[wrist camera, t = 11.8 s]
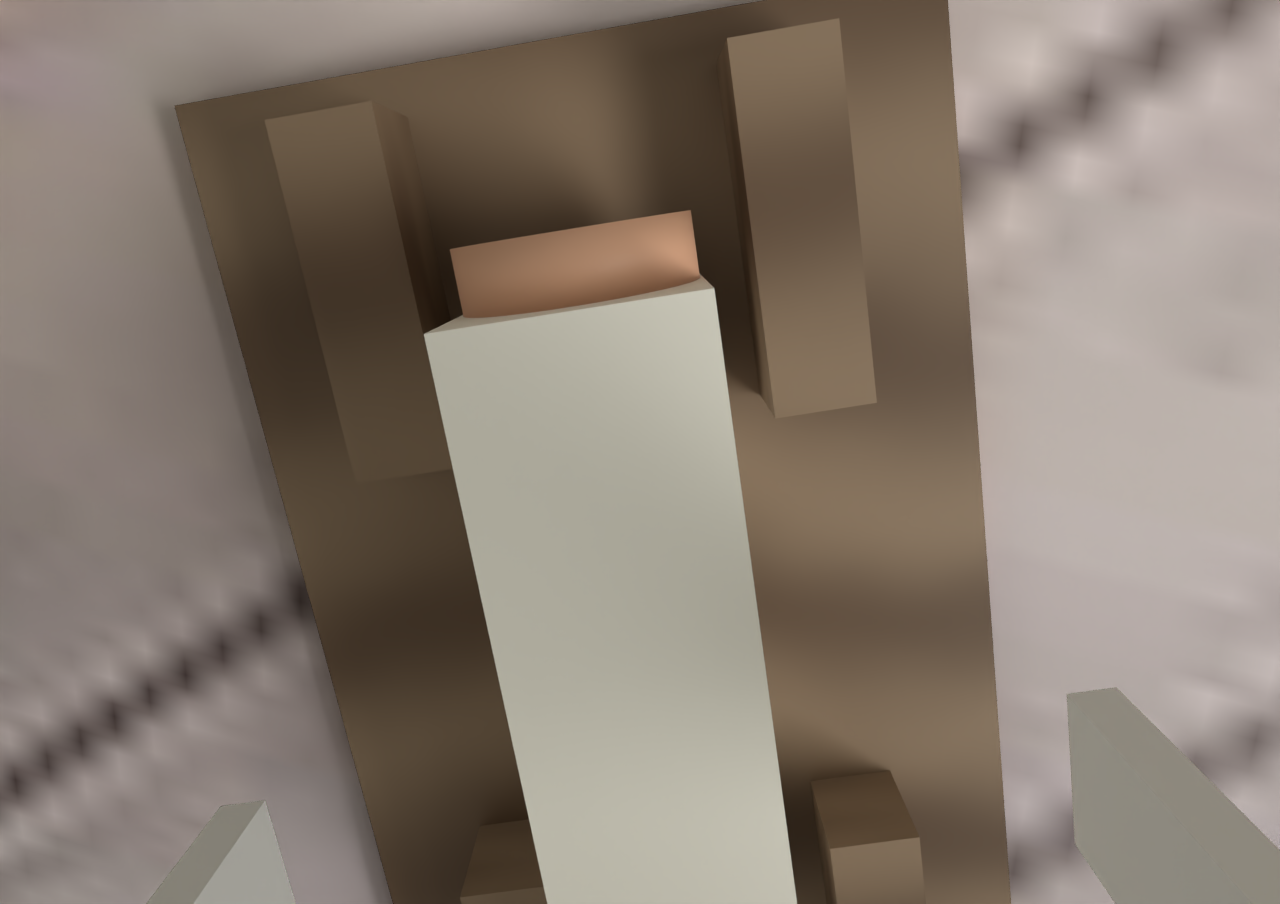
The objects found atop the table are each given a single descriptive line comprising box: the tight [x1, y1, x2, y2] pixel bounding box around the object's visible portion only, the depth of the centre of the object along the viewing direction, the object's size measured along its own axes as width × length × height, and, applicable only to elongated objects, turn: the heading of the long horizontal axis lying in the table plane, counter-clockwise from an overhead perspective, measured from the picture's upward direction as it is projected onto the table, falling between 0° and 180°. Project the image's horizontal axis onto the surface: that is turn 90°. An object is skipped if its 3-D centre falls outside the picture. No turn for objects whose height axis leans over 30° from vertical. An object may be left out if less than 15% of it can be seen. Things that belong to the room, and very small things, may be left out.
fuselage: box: [424, 210, 797, 904], centre depth 17 cm, size 17×4×8 cm, turn 9°
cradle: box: [175, 0, 1011, 904], centre depth 21 cm, size 26×16×4 cm, turn 9°
